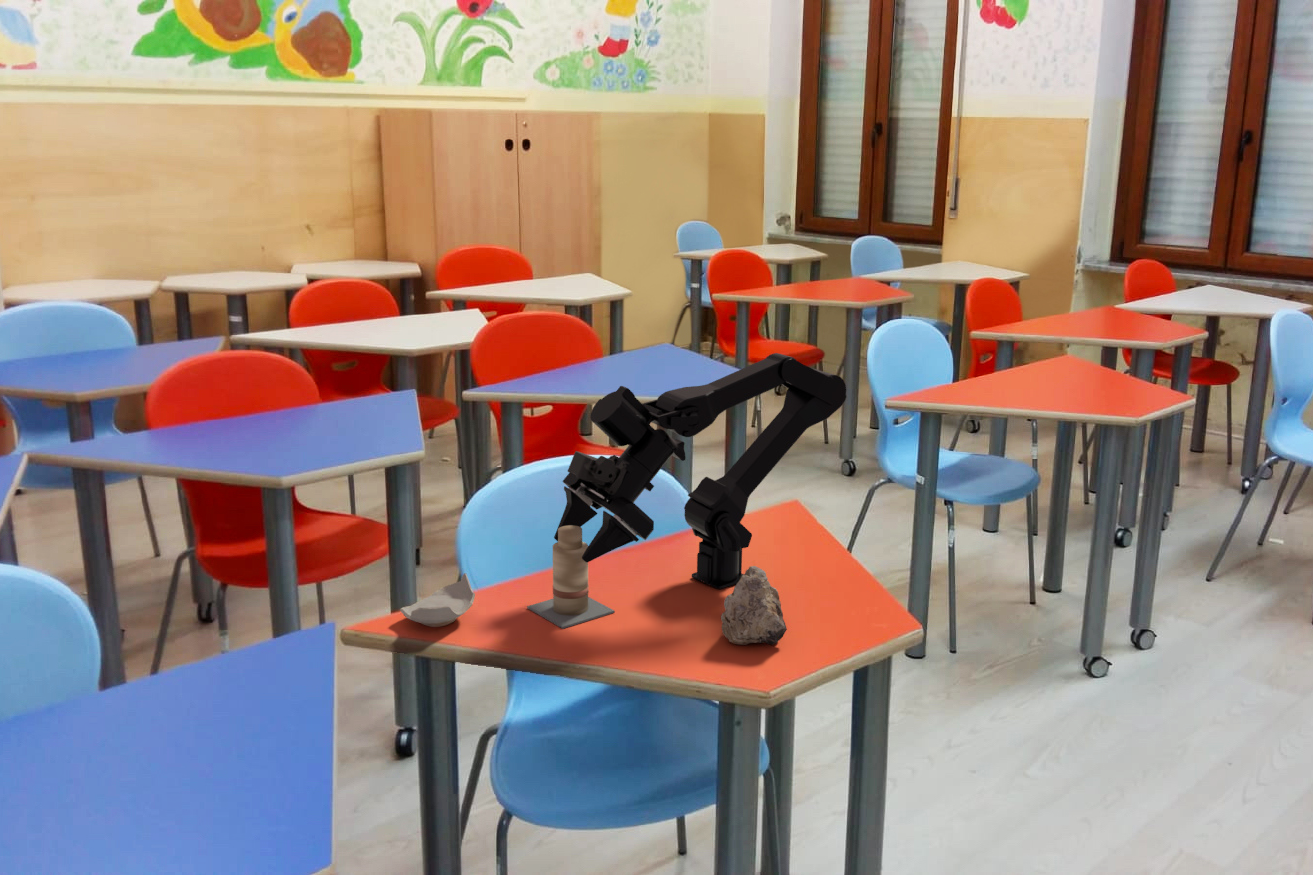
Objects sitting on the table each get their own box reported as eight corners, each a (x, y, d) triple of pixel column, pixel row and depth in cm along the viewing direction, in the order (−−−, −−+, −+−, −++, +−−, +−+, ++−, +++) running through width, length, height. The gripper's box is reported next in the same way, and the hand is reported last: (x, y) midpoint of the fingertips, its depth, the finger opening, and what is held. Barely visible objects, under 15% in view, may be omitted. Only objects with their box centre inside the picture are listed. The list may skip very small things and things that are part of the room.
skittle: (585, 600, 163) (584, 522, 160) (591, 613, 158) (591, 534, 155) (550, 602, 162) (549, 524, 159) (555, 616, 157) (554, 536, 154)
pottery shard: (462, 601, 163) (461, 569, 162) (493, 629, 154) (493, 595, 153) (393, 615, 158) (392, 583, 156) (422, 645, 149) (421, 611, 147)
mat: (577, 593, 166) (577, 591, 166) (614, 612, 160) (614, 610, 159) (527, 608, 161) (527, 606, 161) (562, 628, 154) (562, 626, 154)
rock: (720, 666, 149) (755, 631, 143) (691, 595, 155) (724, 559, 148) (770, 658, 154) (806, 624, 148) (740, 590, 159) (773, 555, 153)
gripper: (574, 417, 164) (506, 499, 161) (634, 447, 148) (560, 538, 146) (621, 461, 170) (556, 542, 167) (684, 494, 154) (613, 583, 151)
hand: (569, 550), depth 158 cm, fingers open, 9 cm apart
